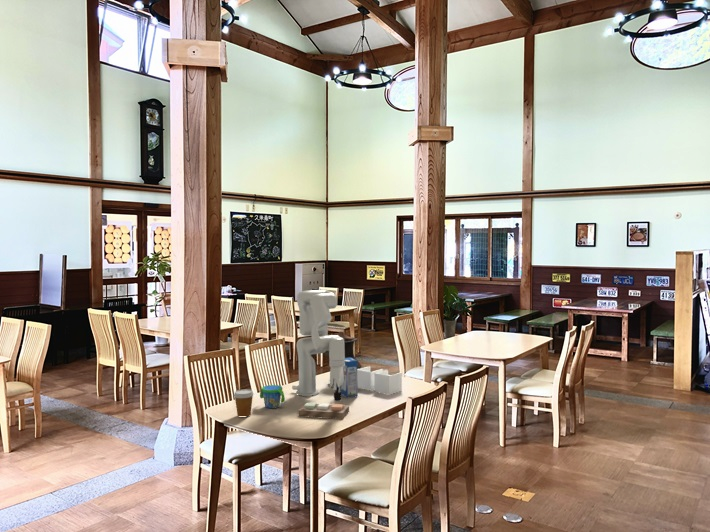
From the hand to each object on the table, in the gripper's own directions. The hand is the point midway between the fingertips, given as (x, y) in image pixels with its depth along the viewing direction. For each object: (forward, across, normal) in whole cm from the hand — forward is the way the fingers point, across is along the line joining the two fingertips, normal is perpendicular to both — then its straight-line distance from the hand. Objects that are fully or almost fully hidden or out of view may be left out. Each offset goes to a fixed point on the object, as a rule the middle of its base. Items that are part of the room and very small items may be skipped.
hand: (337, 400), depth 266 cm
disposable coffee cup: (+7, +10, -45) cm, 47 cm away
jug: (+6, -65, -12) cm, 67 cm away
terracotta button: (+5, 0, 0) cm, 6 cm away
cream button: (+5, 0, -7) cm, 9 cm away
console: (+7, 0, -7) cm, 10 cm away
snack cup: (+7, -7, -37) cm, 39 cm away
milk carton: (+7, -36, -3) cm, 37 cm away
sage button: (+5, 0, -14) cm, 15 cm away
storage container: (+7, -51, +11) cm, 53 cm away
